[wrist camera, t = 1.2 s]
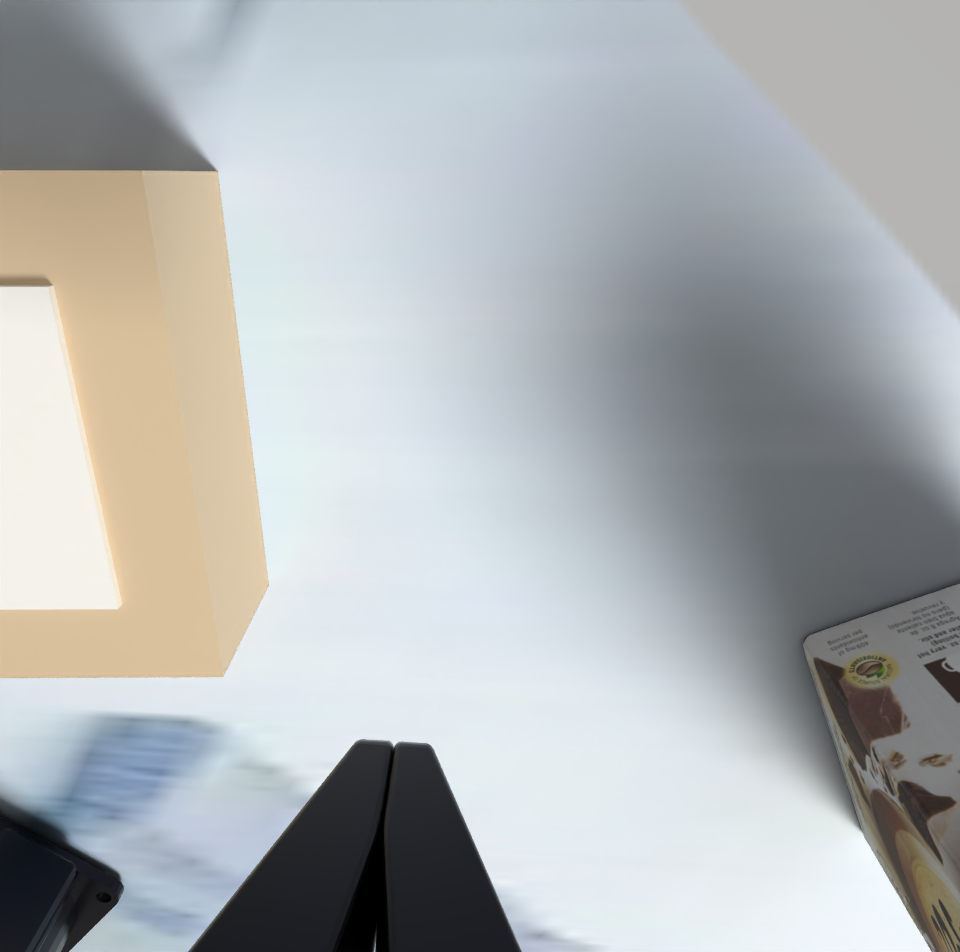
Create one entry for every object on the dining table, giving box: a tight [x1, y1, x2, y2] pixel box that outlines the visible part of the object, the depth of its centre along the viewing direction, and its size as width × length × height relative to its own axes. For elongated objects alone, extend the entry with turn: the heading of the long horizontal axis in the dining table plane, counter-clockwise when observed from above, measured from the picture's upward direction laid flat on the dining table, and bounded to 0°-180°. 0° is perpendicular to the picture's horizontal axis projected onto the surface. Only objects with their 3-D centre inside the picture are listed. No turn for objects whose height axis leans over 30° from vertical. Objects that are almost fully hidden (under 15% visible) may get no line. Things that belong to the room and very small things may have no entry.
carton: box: [0, 170, 269, 678], centre depth 17 cm, size 9×11×5 cm
